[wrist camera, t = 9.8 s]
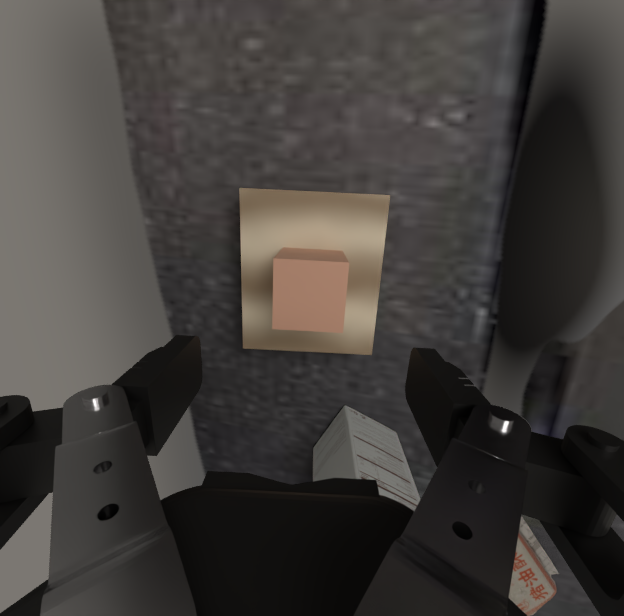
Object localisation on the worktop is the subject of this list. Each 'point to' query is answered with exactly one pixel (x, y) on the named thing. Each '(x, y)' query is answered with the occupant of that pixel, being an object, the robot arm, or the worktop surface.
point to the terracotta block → (309, 290)
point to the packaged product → (531, 573)
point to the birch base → (311, 235)
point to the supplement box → (365, 456)
